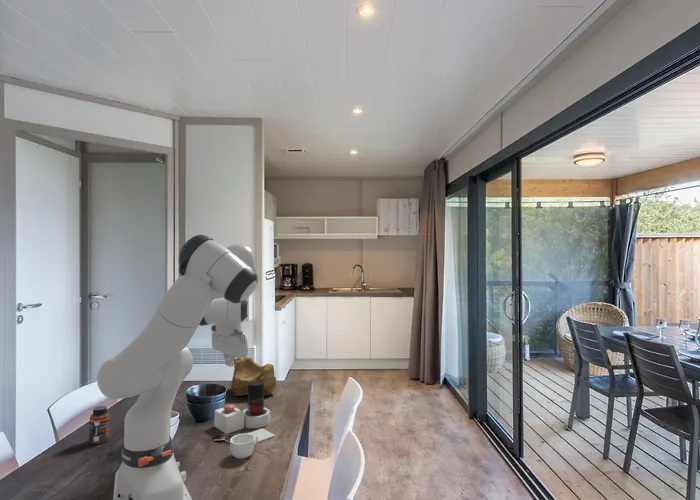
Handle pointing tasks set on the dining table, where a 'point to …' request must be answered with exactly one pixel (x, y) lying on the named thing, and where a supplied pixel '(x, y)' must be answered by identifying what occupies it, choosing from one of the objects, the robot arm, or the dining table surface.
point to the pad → (262, 434)
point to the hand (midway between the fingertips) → (229, 365)
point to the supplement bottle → (99, 425)
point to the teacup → (242, 445)
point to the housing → (239, 420)
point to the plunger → (229, 408)
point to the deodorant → (255, 398)
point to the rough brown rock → (251, 376)
